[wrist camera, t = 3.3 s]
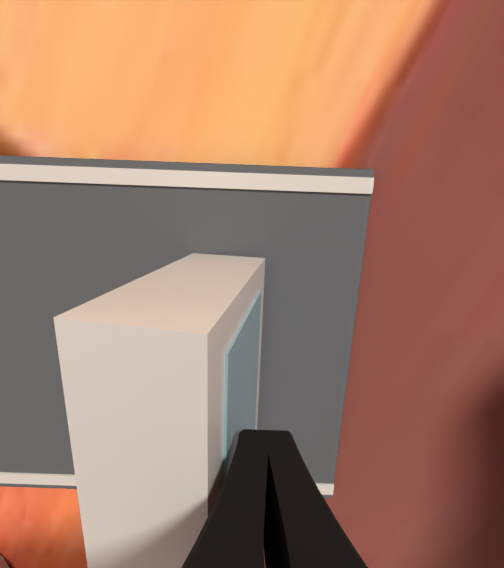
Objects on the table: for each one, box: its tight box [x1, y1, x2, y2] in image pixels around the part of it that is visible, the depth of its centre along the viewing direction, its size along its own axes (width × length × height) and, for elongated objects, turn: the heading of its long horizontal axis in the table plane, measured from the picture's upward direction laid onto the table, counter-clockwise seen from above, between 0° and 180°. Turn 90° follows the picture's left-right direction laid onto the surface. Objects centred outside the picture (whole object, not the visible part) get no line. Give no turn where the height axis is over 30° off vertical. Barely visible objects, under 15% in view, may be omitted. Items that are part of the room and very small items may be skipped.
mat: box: [0, 156, 374, 498], centre depth 14 cm, size 20×16×1 cm
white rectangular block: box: [53, 253, 265, 568], centre depth 10 cm, size 3×9×8 cm, turn 178°
